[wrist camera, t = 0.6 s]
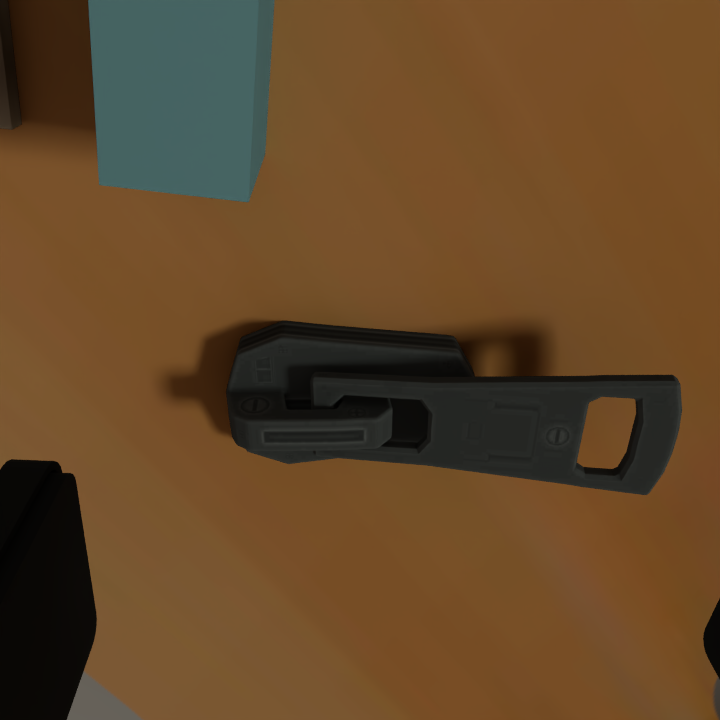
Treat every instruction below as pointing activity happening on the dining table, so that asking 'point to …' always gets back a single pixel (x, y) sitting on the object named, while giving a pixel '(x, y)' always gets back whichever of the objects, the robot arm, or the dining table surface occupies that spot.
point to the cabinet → (181, 94)
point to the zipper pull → (433, 408)
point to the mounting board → (7, 74)
